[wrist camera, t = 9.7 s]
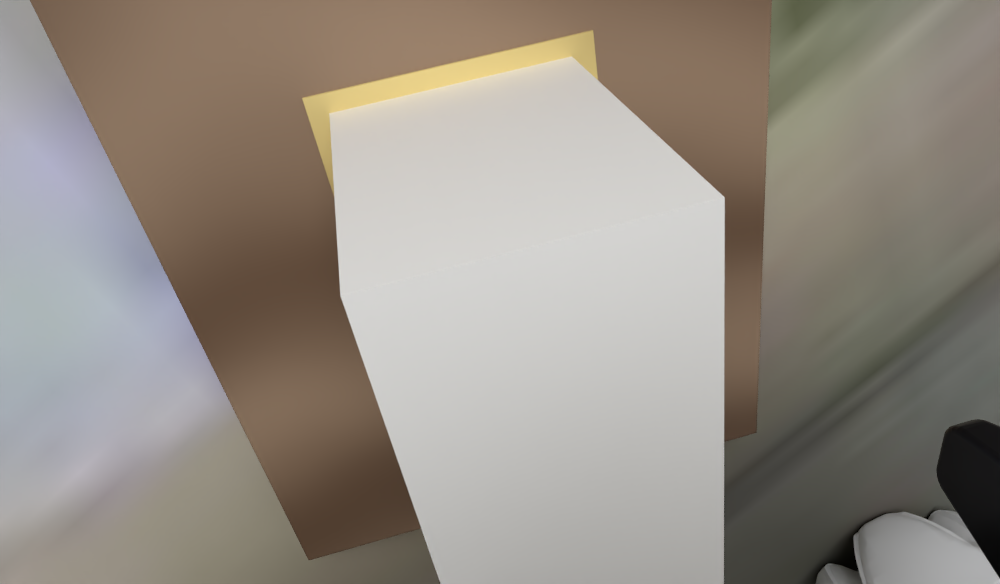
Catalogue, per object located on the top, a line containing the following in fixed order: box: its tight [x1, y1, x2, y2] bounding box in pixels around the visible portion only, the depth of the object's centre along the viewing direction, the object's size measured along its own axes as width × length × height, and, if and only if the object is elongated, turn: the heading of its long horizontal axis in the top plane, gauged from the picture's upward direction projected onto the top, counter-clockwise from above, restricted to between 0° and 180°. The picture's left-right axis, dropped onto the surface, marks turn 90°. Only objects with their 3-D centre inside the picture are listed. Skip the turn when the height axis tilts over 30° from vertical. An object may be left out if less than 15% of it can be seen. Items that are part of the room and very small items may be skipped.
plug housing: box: [329, 56, 725, 584], centre depth 13 cm, size 8×4×6 cm, turn 9°
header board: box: [30, 0, 772, 560], centre depth 15 cm, size 14×12×5 cm
